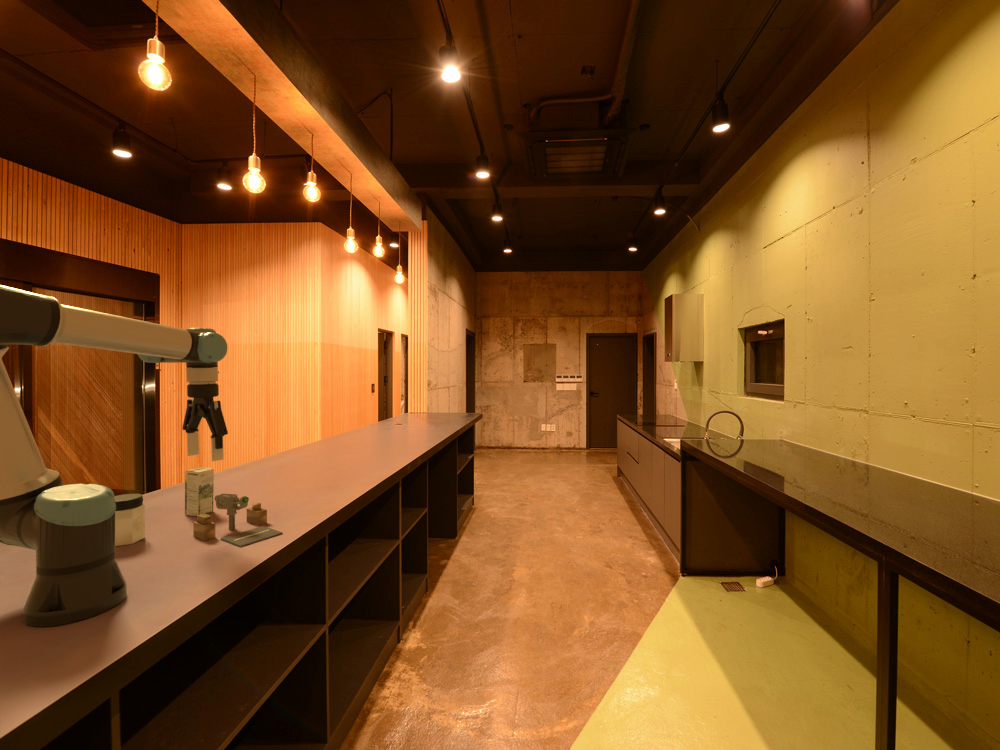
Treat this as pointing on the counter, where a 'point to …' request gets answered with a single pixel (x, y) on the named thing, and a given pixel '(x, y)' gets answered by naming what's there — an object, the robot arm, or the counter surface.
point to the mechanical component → (231, 505)
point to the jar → (129, 519)
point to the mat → (251, 536)
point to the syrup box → (199, 491)
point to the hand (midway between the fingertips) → (205, 457)
